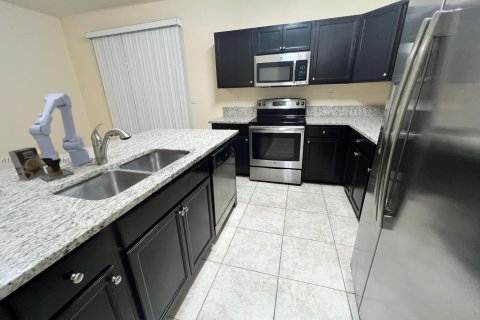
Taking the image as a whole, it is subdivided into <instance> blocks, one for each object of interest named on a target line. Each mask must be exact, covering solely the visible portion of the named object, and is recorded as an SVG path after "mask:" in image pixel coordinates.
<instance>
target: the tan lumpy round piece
mask: <svg viewBox="0 0 480 320" xmlns="http://www.w3.org/2000/svg"><path fill="white" fill-rule="evenodd" d="M54 149H55V152H56V154H57V158H60V155H59V152H58V149H57V148H55V147H54ZM37 152H38V155H39V157H40V156H42V155H41V152H40V149H39V148H38V149H37ZM41 159H42V158H40V160H41ZM41 163H42V165H43V166H44V165H46V163H45V162H44V161H42V160H41ZM46 166H47V165H46Z"/></svg>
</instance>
